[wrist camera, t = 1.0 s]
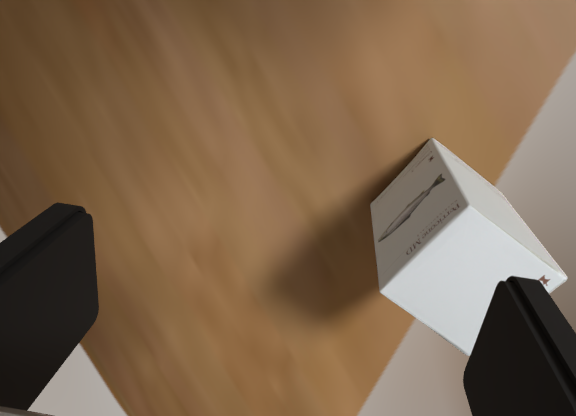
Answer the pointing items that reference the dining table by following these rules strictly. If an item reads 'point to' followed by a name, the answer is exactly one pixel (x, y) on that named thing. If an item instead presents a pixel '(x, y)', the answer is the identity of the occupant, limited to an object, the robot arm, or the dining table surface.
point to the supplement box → (451, 245)
